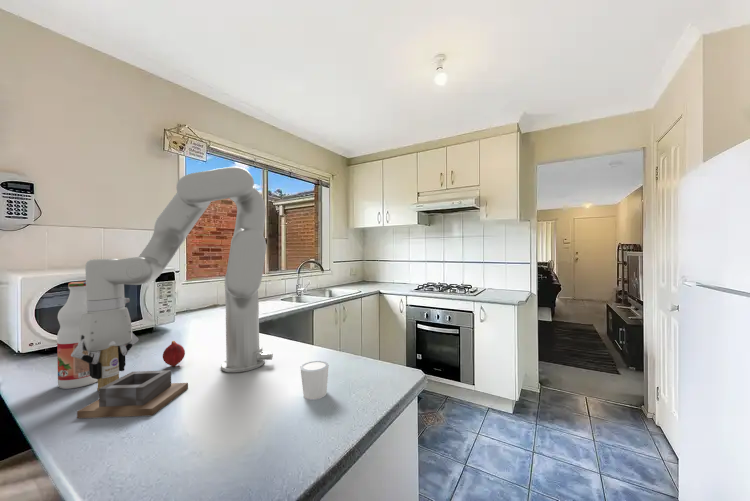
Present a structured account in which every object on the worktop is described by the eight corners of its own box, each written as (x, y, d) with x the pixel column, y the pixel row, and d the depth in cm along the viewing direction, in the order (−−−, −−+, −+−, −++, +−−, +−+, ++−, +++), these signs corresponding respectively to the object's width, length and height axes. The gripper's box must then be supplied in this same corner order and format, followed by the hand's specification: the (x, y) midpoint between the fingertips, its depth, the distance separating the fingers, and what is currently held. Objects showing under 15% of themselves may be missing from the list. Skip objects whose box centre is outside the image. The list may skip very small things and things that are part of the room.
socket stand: (188, 388, 78) (187, 367, 78) (152, 415, 65) (151, 390, 65) (125, 390, 78) (125, 369, 78) (77, 418, 65) (76, 392, 65)
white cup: (304, 403, 69) (304, 373, 69) (297, 391, 75) (297, 363, 75) (333, 396, 72) (332, 367, 72) (324, 385, 78) (323, 358, 78)
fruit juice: (97, 385, 82) (95, 282, 82) (50, 392, 78) (48, 284, 78) (110, 372, 90) (108, 279, 90) (68, 379, 86) (66, 281, 86)
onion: (189, 364, 96) (188, 339, 96) (170, 371, 91) (169, 344, 91) (177, 361, 98) (177, 337, 98) (158, 368, 93) (158, 342, 93)
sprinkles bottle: (111, 391, 77) (110, 339, 77) (92, 392, 77) (90, 340, 77) (124, 383, 82) (122, 334, 82) (105, 385, 81) (104, 335, 81)
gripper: (133, 299, 89) (135, 361, 89) (55, 310, 73) (57, 385, 73) (149, 300, 86) (151, 364, 86) (71, 312, 70) (74, 390, 70)
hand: (108, 373), depth 79 cm, fingers closed on sprinkles bottle, 4 cm apart
